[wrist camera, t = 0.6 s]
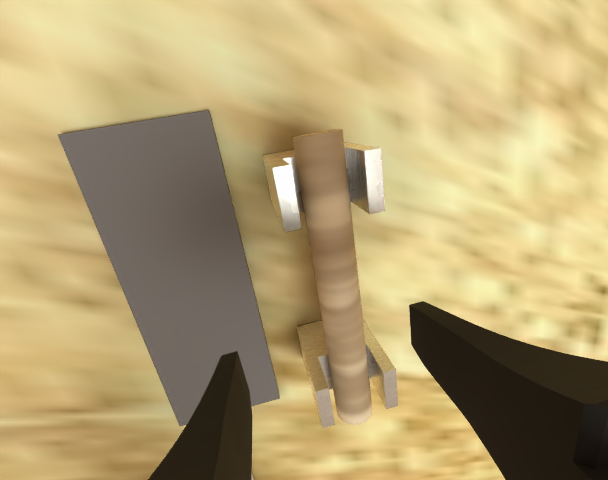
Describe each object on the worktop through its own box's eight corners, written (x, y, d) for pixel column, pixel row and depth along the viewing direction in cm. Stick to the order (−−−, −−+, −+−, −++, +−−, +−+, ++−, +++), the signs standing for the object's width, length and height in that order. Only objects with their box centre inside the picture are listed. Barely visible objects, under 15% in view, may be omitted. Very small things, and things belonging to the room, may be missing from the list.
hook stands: (361, 341, 26) (398, 405, 20) (302, 357, 26) (322, 428, 20) (338, 141, 20) (380, 147, 14) (262, 155, 20) (272, 168, 14)
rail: (364, 390, 23) (378, 418, 21) (332, 399, 23) (342, 429, 20) (334, 129, 16) (349, 129, 14) (288, 137, 16) (296, 139, 14)
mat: (279, 393, 26) (279, 398, 26) (181, 420, 25) (180, 426, 25) (209, 110, 18) (208, 110, 18) (62, 134, 17) (57, 134, 17)
